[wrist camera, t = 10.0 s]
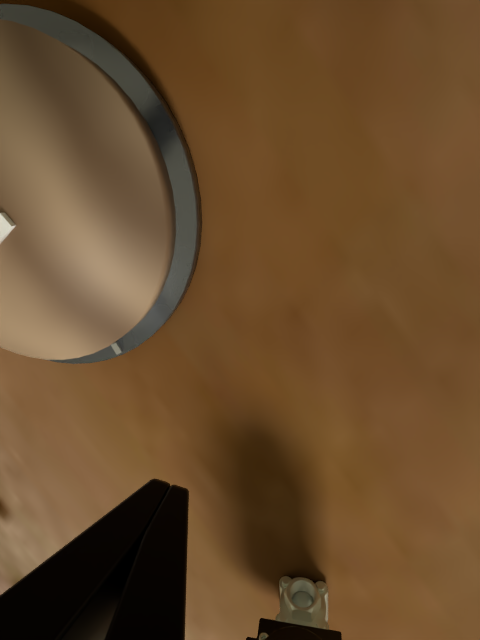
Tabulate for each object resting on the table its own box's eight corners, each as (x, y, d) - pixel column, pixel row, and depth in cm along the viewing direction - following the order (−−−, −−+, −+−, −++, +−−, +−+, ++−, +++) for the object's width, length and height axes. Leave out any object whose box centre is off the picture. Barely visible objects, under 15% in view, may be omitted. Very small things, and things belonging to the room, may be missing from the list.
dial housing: (-103, -36, 18) (-134, -52, 16) (247, 80, 16) (241, 72, 15) (-85, 298, 25) (-105, 304, 23) (160, 396, 23) (151, 408, 22)
